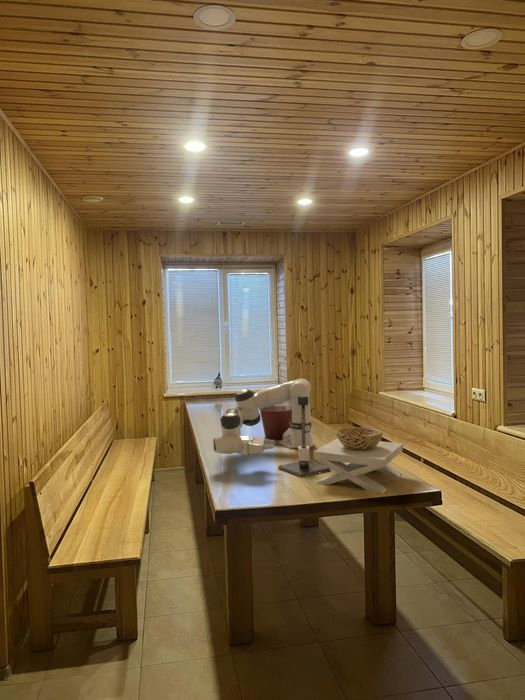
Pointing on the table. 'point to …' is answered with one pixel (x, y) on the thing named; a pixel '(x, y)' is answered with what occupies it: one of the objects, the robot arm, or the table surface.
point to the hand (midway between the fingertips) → (273, 444)
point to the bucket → (276, 421)
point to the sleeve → (303, 453)
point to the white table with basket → (358, 457)
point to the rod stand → (303, 466)
